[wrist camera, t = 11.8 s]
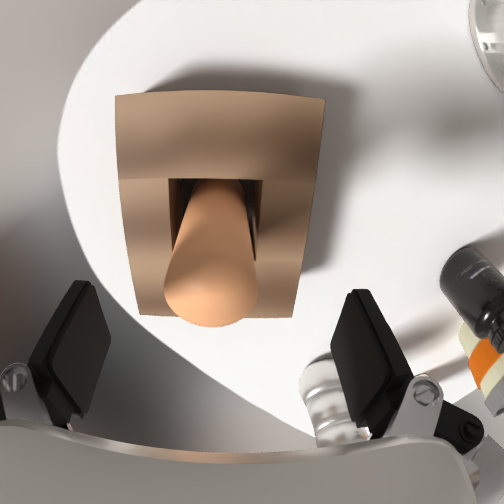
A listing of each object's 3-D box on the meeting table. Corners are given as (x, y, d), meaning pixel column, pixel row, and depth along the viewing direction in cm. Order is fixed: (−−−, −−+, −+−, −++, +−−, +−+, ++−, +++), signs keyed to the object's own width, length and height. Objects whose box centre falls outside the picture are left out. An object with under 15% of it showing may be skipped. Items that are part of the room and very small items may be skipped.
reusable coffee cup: (500, 322, 37) (541, 380, 24) (448, 360, 39) (485, 426, 26) (508, 275, 31) (565, 340, 18) (449, 318, 33) (501, 399, 20)
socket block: (139, 94, 18) (115, 95, 14) (304, 98, 19) (325, 99, 15) (151, 278, 26) (139, 314, 22) (282, 280, 27) (291, 317, 23)
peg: (192, 170, 21) (158, 250, 11) (245, 171, 22) (262, 253, 11) (192, 218, 23) (168, 325, 13) (242, 219, 24) (254, 327, 13)
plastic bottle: (285, 370, 34) (313, 523, 17) (331, 344, 32) (381, 503, 15) (312, 388, 37) (342, 519, 20) (354, 364, 35) (399, 499, 18)
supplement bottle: (462, 235, 26) (531, 300, 16) (483, 258, 28) (540, 317, 18) (427, 282, 29) (483, 357, 19) (452, 299, 31) (500, 364, 21)
